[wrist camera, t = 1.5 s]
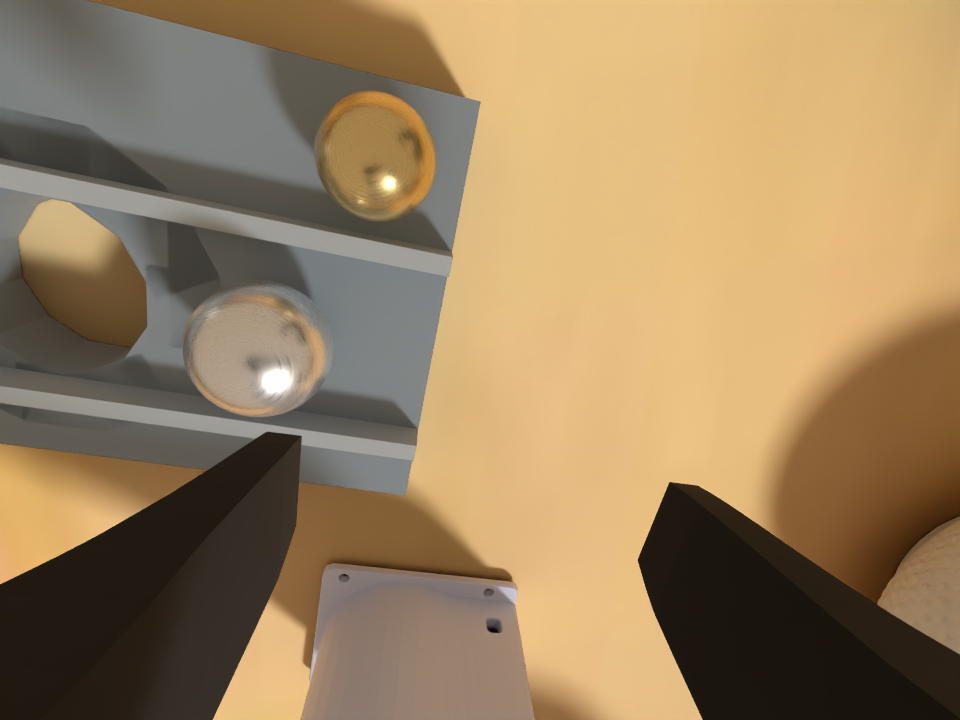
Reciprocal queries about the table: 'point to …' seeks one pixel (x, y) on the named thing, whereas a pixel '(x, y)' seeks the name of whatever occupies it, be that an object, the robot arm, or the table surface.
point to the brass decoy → (375, 156)
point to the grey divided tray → (211, 238)
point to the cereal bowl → (929, 586)
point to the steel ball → (258, 348)
